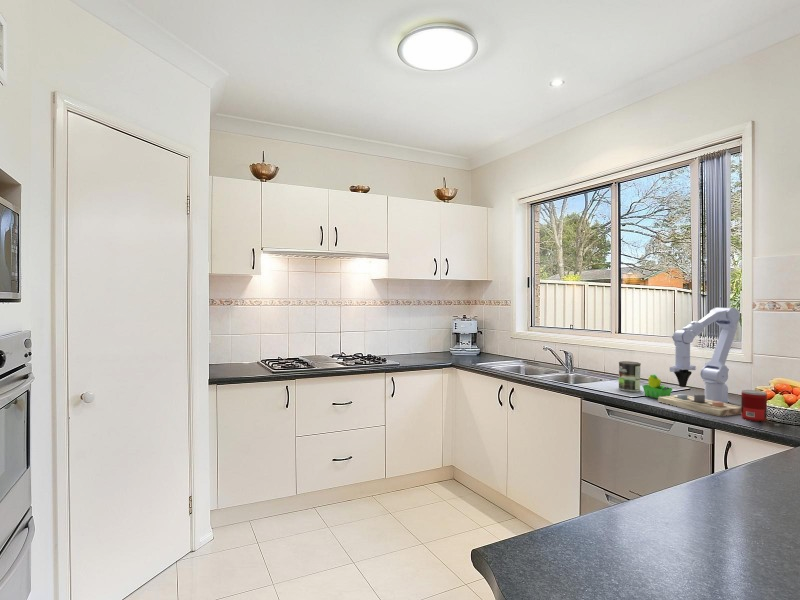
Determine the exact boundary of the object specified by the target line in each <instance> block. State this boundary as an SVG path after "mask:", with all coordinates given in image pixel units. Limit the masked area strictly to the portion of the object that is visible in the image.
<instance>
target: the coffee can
mask: <svg viewBox="0 0 800 600" xmlns="http://www.w3.org/2000/svg"><path fill="white" fill-rule="evenodd" d="M641 364H642V363H641V362H638V361H629V360H628V361H626V360H625V361H619V362H618V390H620V391H623V392H640V391H641Z"/></svg>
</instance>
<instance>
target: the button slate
mask: <svg viewBox="0 0 800 600" xmlns="http://www.w3.org/2000/svg"><path fill="white" fill-rule="evenodd" d="M676 395H677V398H678V399H682V400H686V399H688V396H689V395H688V394H684V393H678V394H676Z"/></svg>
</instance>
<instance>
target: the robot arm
mask: <svg viewBox="0 0 800 600" xmlns="http://www.w3.org/2000/svg"><path fill="white" fill-rule="evenodd" d="M740 319H741V314H740V312H739V310H738V309H737V308H736V307H718V306H717V307H713V308H712V309H710V310H709V312H708V314H706V315H705V316H703V317H702V318H701V319H700V320H698V321H697V320H695V321H690V323H689V324H687V326H683V327H682V329H681V330H680V329H679V330H676V331H674V332H673V335H672V336H671V337H672V340H673V342H674V346H675V348H674V349H675V350H674V351H675V359H674V360H675V365H674V366H669V373H670V372H673V373H674V375H675V376H676V378H677V382H678V385H679V387H680V388H686V387H687V384H688V381H689V379H690V376H691V375H692V373H693V372H692V371H696V369H697V368H696V365H691V343H693V341H694V339H695V337H697V336H699V335H700V334H701V333H703V332H704V329H705V328H706V327H708V326H709V325H711V324H713V323H714V322H715V323H716V325H718V326H719V328H720V329H721V331H720V333H719V336H718V339H717V341H716V345H715V348H714V349H713V354H712V357H711V360H709V361H706V362H705V364H704V366H703V368H701V369H700V378H701V379H702V381H703V382H704V395H705V399H707V400H712V401H720V402H724V403H727V404H729V403H730V402H731V401H730V400H729V387H728V385H727V384H726V382H727V381H728V379H729V370H730V369H729V367H728V366H727V365H726V362H727V359H728V356H729V353H730V351H731V347H732V345H733V341H734V338H735V336H736V333H737V329H738V323H739V321H740ZM728 402H729V403H728Z"/></svg>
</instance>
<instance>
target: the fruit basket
mask: <svg viewBox="0 0 800 600" xmlns="http://www.w3.org/2000/svg"><path fill="white" fill-rule="evenodd" d="M661 384H662V380H661V379H660V378H659V377H658V376H657V375H656V374H654V373H653V374H651V375H649V376H648V384H642V388H643V392H644V395H646V396H645V397H648V396H650V398H653V397H655V398H654V399H657V398H658V397H663V396H671V394H672V391H673V390H674V389H673V388H672V387H668V386H665V385H664V384H662V385H661Z"/></svg>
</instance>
